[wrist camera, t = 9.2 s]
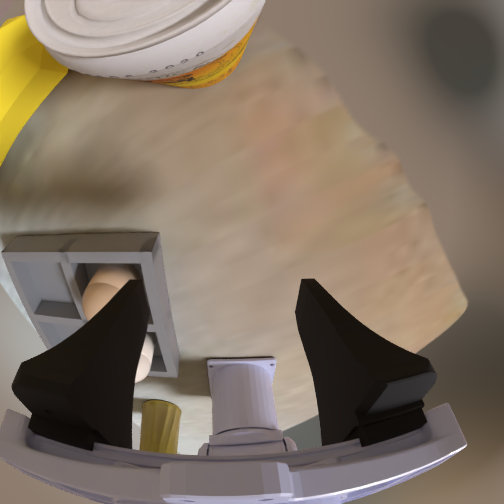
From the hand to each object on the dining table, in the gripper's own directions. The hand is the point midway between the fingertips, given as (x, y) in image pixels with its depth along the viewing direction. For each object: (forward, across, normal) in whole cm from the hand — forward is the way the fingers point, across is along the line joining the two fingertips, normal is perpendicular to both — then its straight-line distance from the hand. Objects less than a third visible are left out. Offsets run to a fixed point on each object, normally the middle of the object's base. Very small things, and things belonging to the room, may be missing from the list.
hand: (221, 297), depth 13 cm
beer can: (+11, +2, -12) cm, 16 cm away
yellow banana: (+11, +18, -11) cm, 24 cm away
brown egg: (+10, +9, +6) cm, 15 cm away
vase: (+11, +10, +32) cm, 35 cm away
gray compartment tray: (+10, +13, +10) cm, 19 cm away
